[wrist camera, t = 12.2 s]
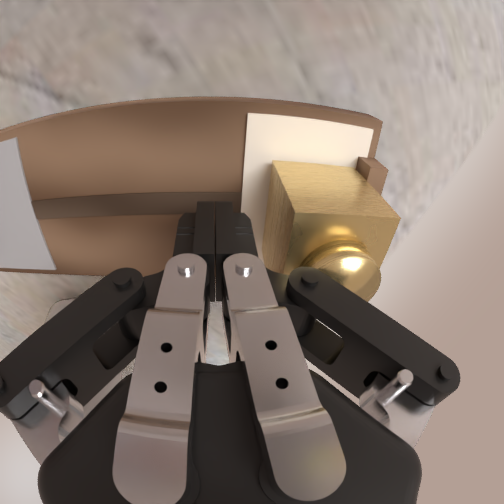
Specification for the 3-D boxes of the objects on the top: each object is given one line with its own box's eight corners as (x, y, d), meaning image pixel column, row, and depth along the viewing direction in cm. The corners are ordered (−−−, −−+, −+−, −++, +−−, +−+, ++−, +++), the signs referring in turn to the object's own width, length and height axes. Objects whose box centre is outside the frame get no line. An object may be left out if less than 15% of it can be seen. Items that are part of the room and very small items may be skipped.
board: (-31, 142, 10) (-59, 161, 7) (369, 114, 13) (398, 130, 10) (7, 258, 16) (-9, 284, 13) (331, 260, 19) (344, 291, 17)
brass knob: (272, 160, 12) (303, 231, 8) (353, 167, 12) (414, 234, 8) (261, 249, 15) (277, 335, 11) (331, 249, 16) (366, 327, 11)
